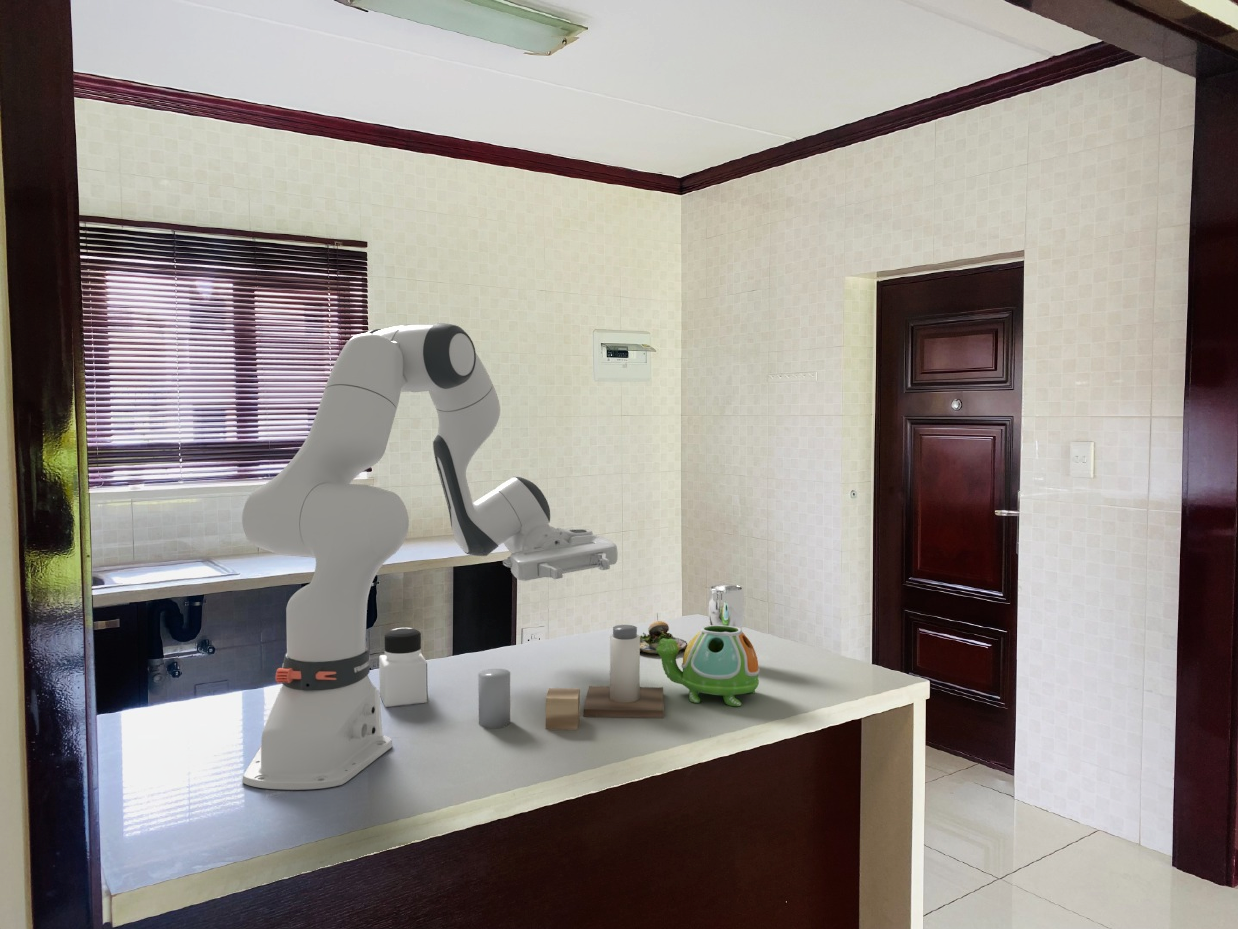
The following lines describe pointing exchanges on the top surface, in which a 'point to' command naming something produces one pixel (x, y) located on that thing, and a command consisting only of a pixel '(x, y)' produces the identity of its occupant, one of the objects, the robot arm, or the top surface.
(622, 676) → the plastic bottle
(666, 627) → the burger
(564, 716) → the oak block
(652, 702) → the walnut board
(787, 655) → the top surface
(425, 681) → the medicine bottle
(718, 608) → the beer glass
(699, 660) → the turtle holder
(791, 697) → the top surface
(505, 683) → the grey cylinder
